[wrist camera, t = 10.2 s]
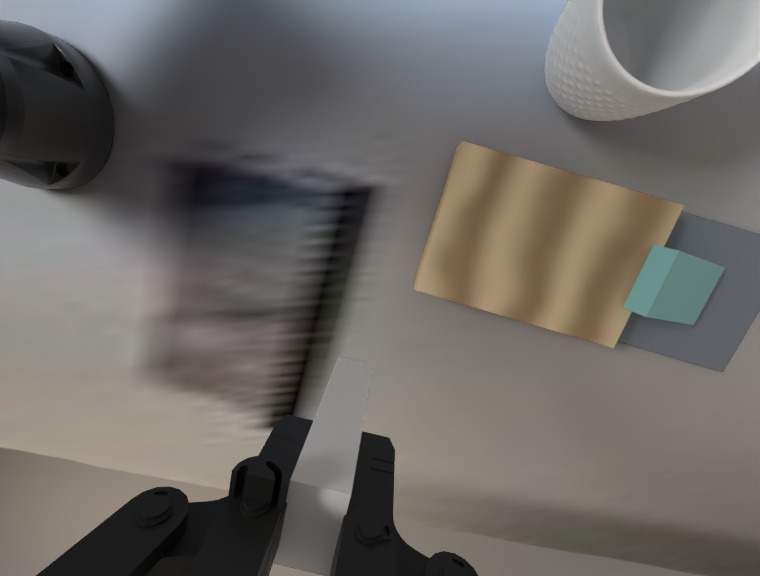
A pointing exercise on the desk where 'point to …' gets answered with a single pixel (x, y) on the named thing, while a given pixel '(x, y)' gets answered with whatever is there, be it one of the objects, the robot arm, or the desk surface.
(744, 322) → the mat
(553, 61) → the mug
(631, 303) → the teal rectangular block
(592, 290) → the board
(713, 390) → the desk surface
